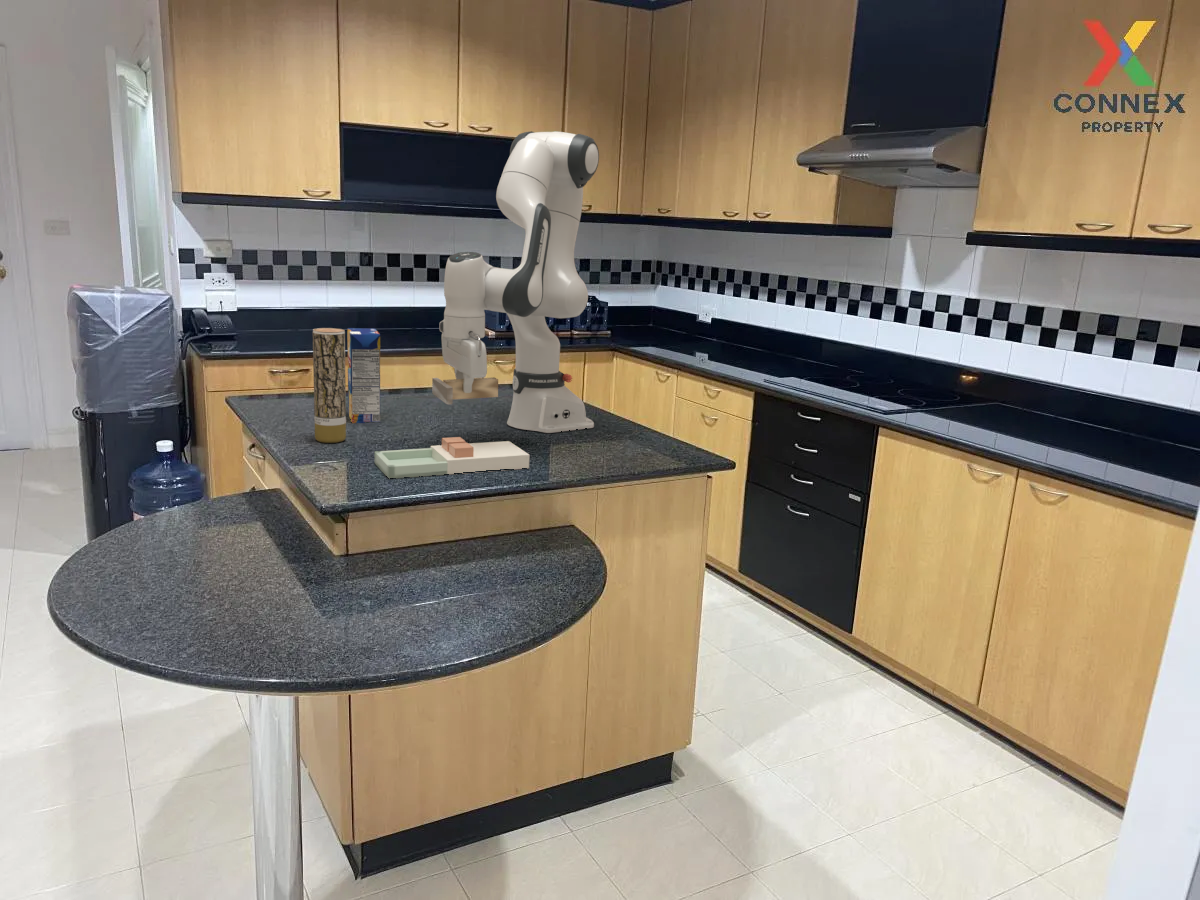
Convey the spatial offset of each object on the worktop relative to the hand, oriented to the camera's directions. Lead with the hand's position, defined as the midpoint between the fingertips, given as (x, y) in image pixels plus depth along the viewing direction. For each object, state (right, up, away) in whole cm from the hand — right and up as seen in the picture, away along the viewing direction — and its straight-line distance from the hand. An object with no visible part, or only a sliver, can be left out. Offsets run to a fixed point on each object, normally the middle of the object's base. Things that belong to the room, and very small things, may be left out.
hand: (464, 390), depth 198 cm
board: (+4, -16, -7) cm, 18 cm away
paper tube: (-31, -11, +4) cm, 33 cm away
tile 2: (+1, -14, -12) cm, 19 cm away
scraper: (+1, -1, +1) cm, 2 cm away
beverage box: (-29, -5, +27) cm, 40 cm away
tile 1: (-1, -13, -8) cm, 15 cm away
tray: (-9, -17, -14) cm, 24 cm away
